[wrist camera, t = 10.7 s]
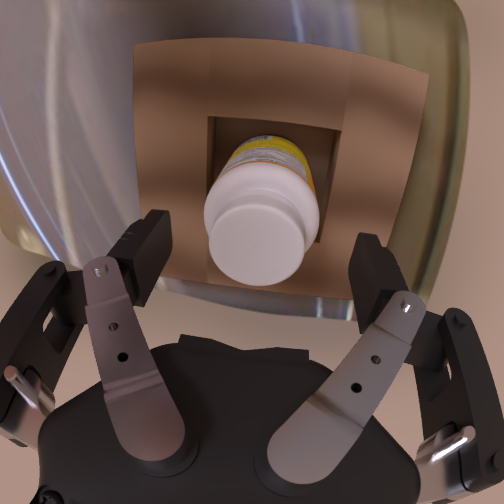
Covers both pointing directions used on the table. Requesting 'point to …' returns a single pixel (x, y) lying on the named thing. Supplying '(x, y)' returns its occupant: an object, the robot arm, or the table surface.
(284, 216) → the supplement bottle
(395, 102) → the walnut socket block
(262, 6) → the table surface
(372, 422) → the robot arm
